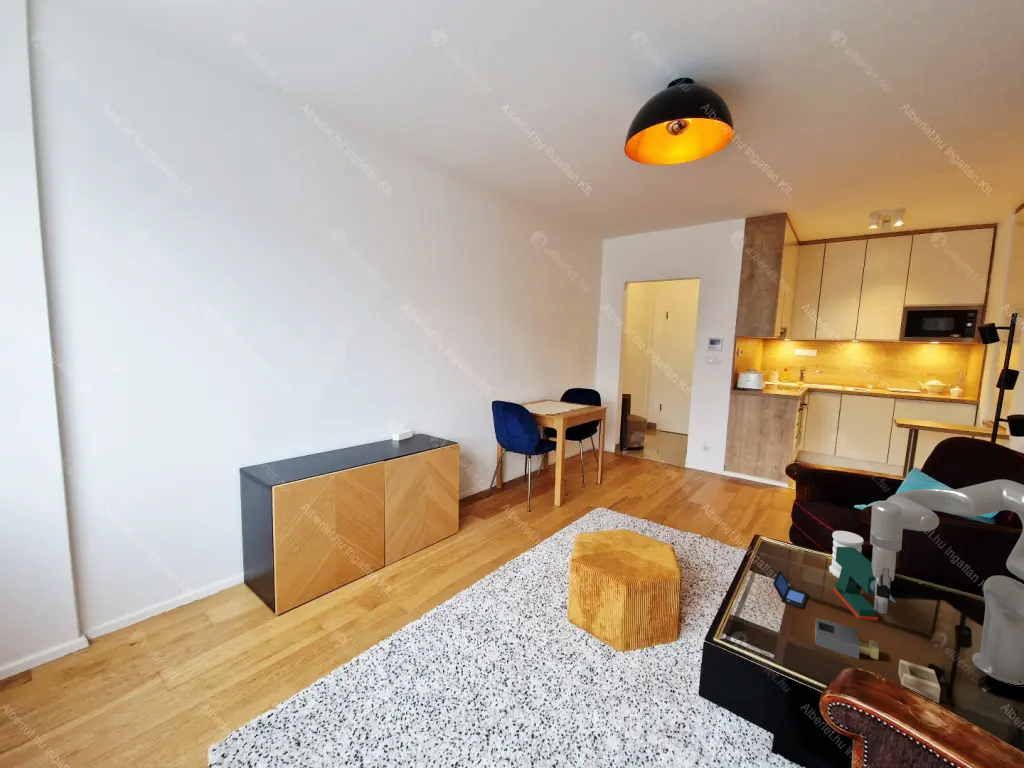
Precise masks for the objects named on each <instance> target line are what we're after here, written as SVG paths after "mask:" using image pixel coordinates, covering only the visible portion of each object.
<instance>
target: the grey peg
mask: <svg viewBox="0 0 1024 768" xmlns="http://www.w3.org/2000/svg"><path fill="white" fill-rule="evenodd" d="M881 576H883V575H881ZM881 580H882V581H883V579H881ZM877 584H878V577H876V580H875V594H874V603H873V604H874V605H873V608H874V609H875V610H876V613H880V614H888V607H889V606H888V604H889V603H888V601H889V599H887V598H883V597H879V596H877V595H876V592H877Z"/></svg>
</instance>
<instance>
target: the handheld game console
mask: <svg viewBox="0 0 1024 768" xmlns="http://www.w3.org/2000/svg"><path fill="white" fill-rule="evenodd" d="M772 583H773V587H774V588H775V591H776V592H777V594H778V595H779V597H780V599H781V600H780V602H781V603H784V604H787V605H789V606H792V607H795V608H797V609H800V610H803V609H804V607H805V604H806V602H807V599H808V595H809V593H808V592H806V591H805V590H801V589H798V588H794V587H791V585H789V583H788V581H787V579H786V577H785V576H784V574H783V572H782V571H781V570H779V571H778V573H777V575H776V576H775V578H774V580H773V582H772Z"/></svg>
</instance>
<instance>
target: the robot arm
mask: <svg viewBox="0 0 1024 768" xmlns="http://www.w3.org/2000/svg"><path fill="white" fill-rule="evenodd" d="M934 511H935V512H941V513H946V514H949V515H950V514H951V515H956V516H961V517H967V518H968V517H969V518H973V517H974V518H975V517H980V516H984V515H987V514H988V515H989V514H992V513H997V512H1001V511H1011V512H1013V513H1016V514H1017V515H1018V517H1019V519H1020V521H1021V523H1022V531H1021V534H1020V537H1019V538H1018V540H1017V542H1016V544H1015V545H1014V547H1013V548H1012V550H1011V552H1010V554H1009V555H1008V558H1007V560H1006V563H1005V565H1006V568H1007V569H1008V571H1009V572H1010V573H1011V574H1013V575H1015V576H1016V577H1017V578H1018V579H1020V580H1022V581H1024V484H1022V483H1019V482H1016V481H1013V480H1009V479H995V480H990V481H986V482H982V483H978V484H973V485H969V486H965V487H962V488H961V487H960V488H956V489H946V488H945V489H944V488H939V489H938V488H935V489H933V488H920V489H919V488H918V489H912V490H907V491H902V492H899V493H895V494H893V495H890V496H889V497H888V498H887V499H886V500H885V501H875V502H874V503H873V504H872V505H871V520H870V533H869V534H870V535H869V537H870V538H869V543H870V545H872V553H871V554H872V556H871V563H872V571H873V576H874V577H878V584H877V592H876V595H877V596H879V597H883V598H887V599H888V600H890V594H891V591H890V590H891V582H893V581H894V580H895V572H896V562H897V561H896V560H897V552H901V550H902V543H903V542H902V541H903V532H904V531H903V530H909V531H917V532H931V531H933V530H935V529H936V528H938V526H939V524H940V519H939V516H938V515H937V513H935V512H934ZM881 575H883V576H881ZM881 579H883V581H882V580H881ZM982 590H983V595H984V596H983V597H984V603H985V605H984V606H985V607H984V608H985V610H984V618H983V619H984V620H983V627H982V635H981V642H980V650H979V651H978V652H975V653H973V654H972V656H971V657H972V658H971V661H972V663H973V664H974V666H975V667H976V668H977V669H979V671H982V672H983V673H984V674H986V675H987V676H989V677H991V678H993V679H995V680H997V681H999V682H1001V681H1002V683H1004V682H1005V683H1004V684H1007V683H1010V684H1009V685H1011V684H1014V685H1013V686H1015V685H1023V684H1024V584H1023V583H1022V582H1021V581H1017V579H1014V578H1012V577H1008V576H1006V575H992V576H990V577H988V578H987V579H986V580H985V582H984V584H983V589H982ZM1020 682H1021V683H1020Z"/></svg>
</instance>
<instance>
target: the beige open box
mask: <svg viewBox="0 0 1024 768" xmlns="http://www.w3.org/2000/svg"><path fill="white" fill-rule="evenodd" d="M898 677H899V681H900V686H901V685H903V686H905V687H907V688H909V689H911V690H913V691H915V692H917V693H919V694H921V695H923V696H925V697H927V698H929V699H931V700H933V701H932V702H934V703H938V704H940V696H941V687H940V682H939V681H938V680H939V679H938V678H937V675H936V672H935V670H934V669H932V668H929V667H925V666H923V665H921V664H920V665H919V664H916V663H913V662H910V661H907V660H904V659H899V664H898ZM931 700H930V701H931Z"/></svg>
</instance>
